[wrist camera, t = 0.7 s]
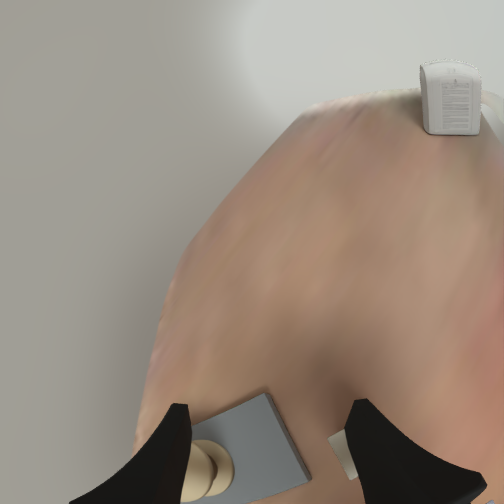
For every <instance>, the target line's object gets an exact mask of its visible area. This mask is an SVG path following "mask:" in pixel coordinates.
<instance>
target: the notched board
mask: <svg viewBox="0 0 504 504" xmlns="http://www.w3.org/2000/svg"><path fill="white" fill-rule="evenodd" d="M191 427H192V441H194V440H210V441H214V442H216V443H218V444H220V445H221V446H222V447H224V448H225V449H226V450H227V451H228V453H229V454H230V456H231V458H232V460H233V463H234V467H235V475H234V479H233V482H232V484H231V485H230V487H229V488H228V489H227V490H225V491H224V492H222V493H220V494H217V495H214V496H204V497H202V498H200V499H198V500H195V501H190V502H181V503H180V504H246V503H249V502H253V501H256V500H259V499H263V498H266V497H269V496H272V495H275V494H278V493H281V492H283V491H286V490H289V489H291V488H294V487H297V486H299V485H302V484H304V483H307V482H309V481H310V480H311V479H312V478H311V476H310V474H309V472H308V470H307V468H306V467H305V465H304V463H303V461H302V459H301V457H300V455H299V453H298V451H297V449H296V447H295V445H294V443H293V441H292V439H291V437H290V435H289V433H288V431H287V429H286V427H285V425H284V423H283V421H282V419H281V417H280V415H279V413H278V411H277V409H276V407H275V405H274V403H273V401H272V399H271V396H270V394H266V393H263V394H261V395H259V396H257V397H255V398H253V399H251V400H249V401H247V402H245V403H243V404H240V405H238V406H236V407H234V408H232V409H230V410H228V411H225V412H223V413H221V414H219V415H217V416H214V417H212V418H210V419H207V420H205V421H203V422H200V423H198V424H195V425H193V426H191Z"/></svg>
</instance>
